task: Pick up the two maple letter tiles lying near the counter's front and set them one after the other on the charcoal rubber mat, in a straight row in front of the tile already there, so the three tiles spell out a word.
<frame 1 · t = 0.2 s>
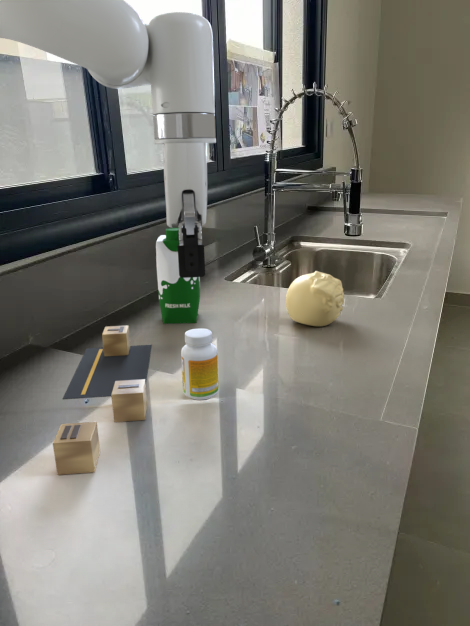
hand: (191, 267, 66), 20 cm above the worktop, tool pointing down, fingers open, 9 cm apart
milk carton: (181, 320, 108), on the worktop
sculpture: (313, 322, 105), on the worktop
tile middle: (131, 413, 70), on the worktop
word mat: (112, 370, 83), on the worktop
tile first: (117, 351, 90), resting on word mat
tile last: (79, 462, 59), on the worktop
supplement bottle: (201, 393, 75), on the worktop
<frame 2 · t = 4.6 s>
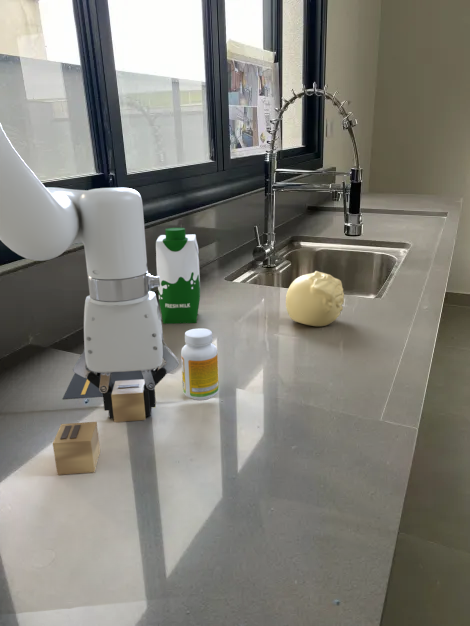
hand: (131, 411, 70), 0 cm above the worktop, tool pointing down, fingers closed on tile middle, 4 cm apart
tile middle: (131, 413, 70), on the worktop, touching gripper
everything else where it was.
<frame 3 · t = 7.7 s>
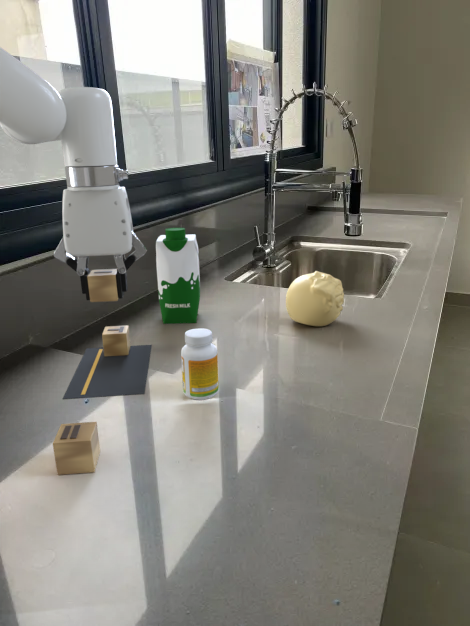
hand: (105, 295, 79), 13 cm above the worktop, tool pointing down, fingers closed on tile middle, 4 cm apart
tile middle: (106, 297, 79), point 13 cm above the worktop, touching gripper
everything else where it was.
when the fingers open (1 cm above the worktop, at t = 10.8 s): tile middle stays where it is, resting on word mat.
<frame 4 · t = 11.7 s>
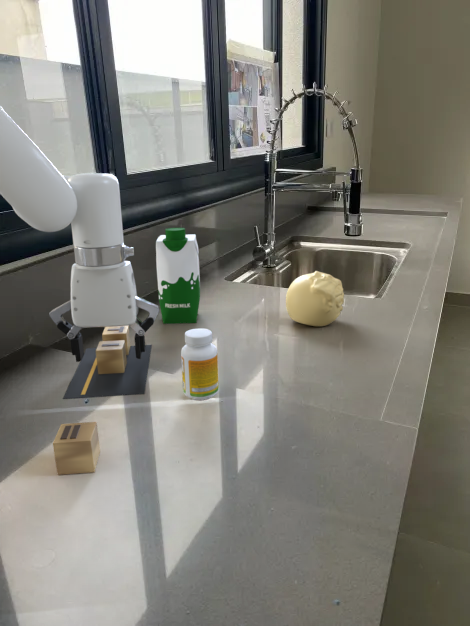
hand: (109, 357, 83), 3 cm above the worktop, tool pointing down, fingers open, 9 cm apart
tile middle: (113, 368, 83), resting on word mat
everything else where it was.
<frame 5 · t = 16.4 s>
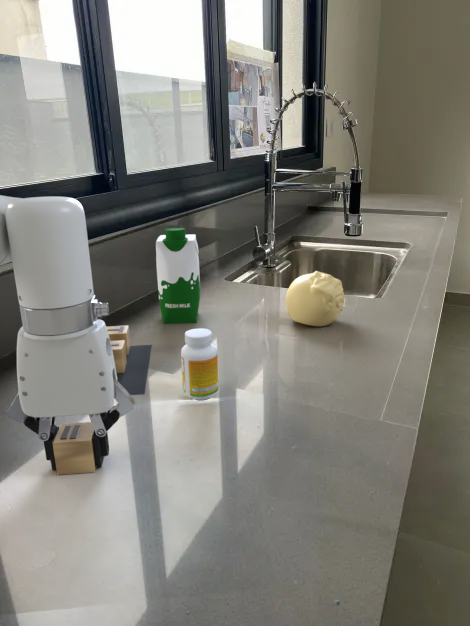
hand: (79, 460, 59), 0 cm above the worktop, tool pointing down, fingers closed on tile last, 4 cm apart
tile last: (79, 462, 59), on the worktop, touching gripper
everything else where it was.
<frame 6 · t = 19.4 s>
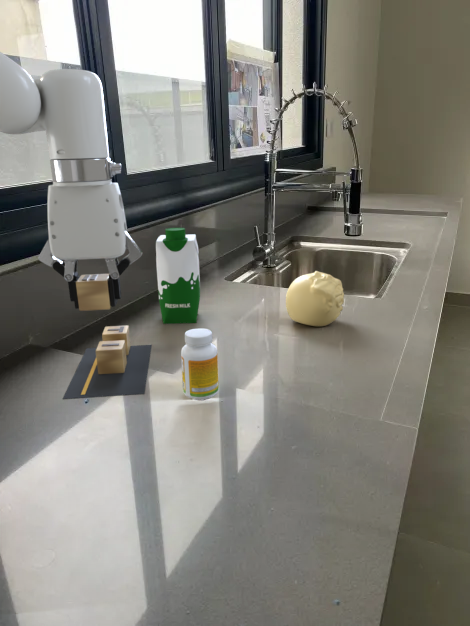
hand: (96, 303, 71), 14 cm above the worktop, tool pointing down, fingers closed on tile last, 4 cm apart
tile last: (97, 305, 72), point 14 cm above the worktop, touching gripper
everything else where it was.
when the fingers open (1 cm above the worktop, at t = 22.7 s): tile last stays where it is, resting on word mat.
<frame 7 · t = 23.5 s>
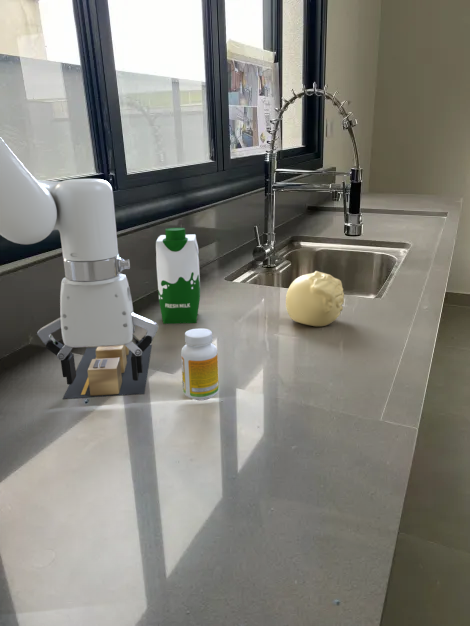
hand: (104, 378, 76), 2 cm above the worktop, tool pointing down, fingers open, 9 cm apart
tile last: (106, 388, 76), resting on word mat
everything else where it was.
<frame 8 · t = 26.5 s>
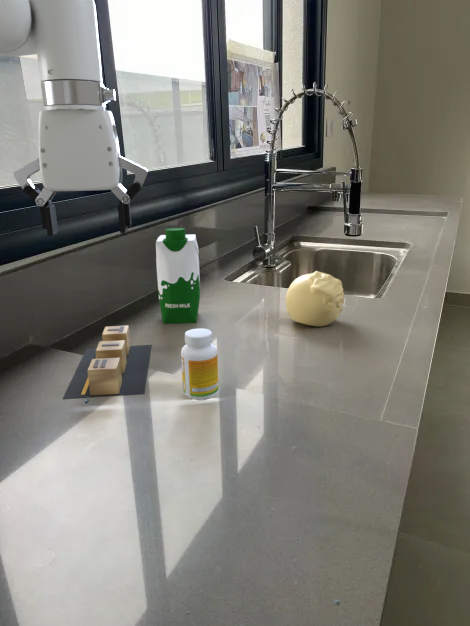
hand: (88, 233, 69), 24 cm above the worktop, tool pointing down, fingers open, 9 cm apart
nothing on the worktop moved.
at the end: tile middle 0.1 cm from the target spot, resting on word mat; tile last 0.1 cm from the target spot, resting on word mat; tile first moved 0.0 cm from its start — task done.
